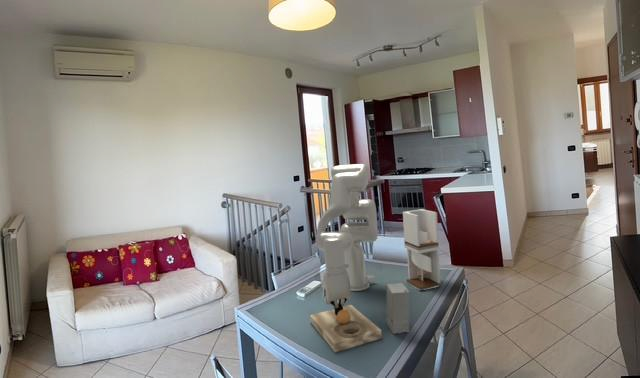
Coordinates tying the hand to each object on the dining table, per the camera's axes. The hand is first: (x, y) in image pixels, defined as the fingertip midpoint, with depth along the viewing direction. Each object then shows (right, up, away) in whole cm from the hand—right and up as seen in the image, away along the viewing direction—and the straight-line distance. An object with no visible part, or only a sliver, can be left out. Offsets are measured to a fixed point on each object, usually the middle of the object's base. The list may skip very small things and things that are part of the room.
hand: (339, 315), depth 139 cm
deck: (+2, -4, -3) cm, 5 cm away
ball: (+1, +1, -4) cm, 4 cm away
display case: (+41, +3, +33) cm, 53 cm away
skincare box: (+22, -3, -5) cm, 22 cm away
